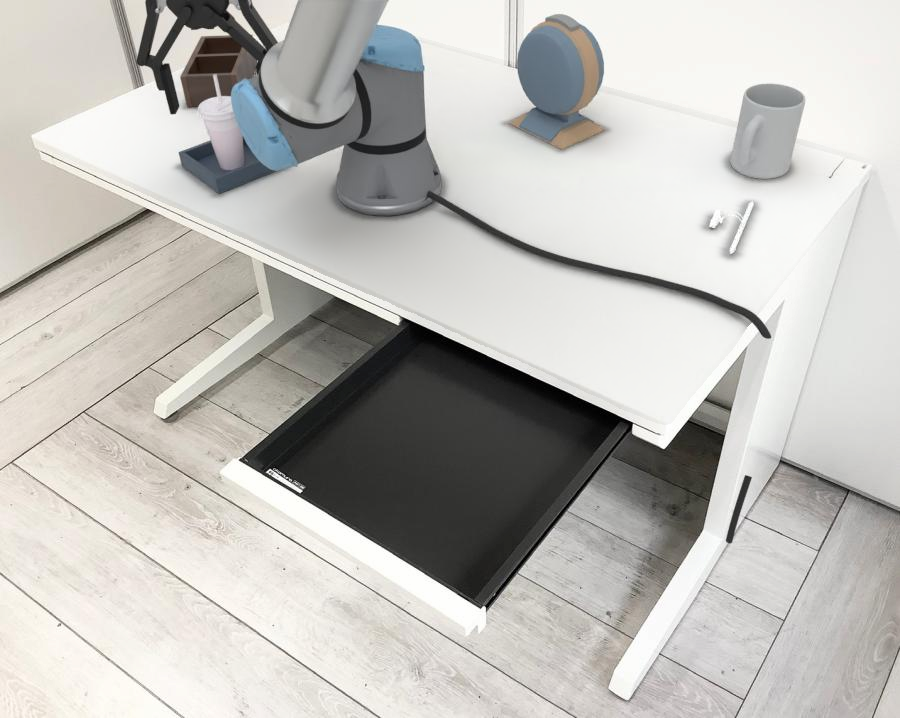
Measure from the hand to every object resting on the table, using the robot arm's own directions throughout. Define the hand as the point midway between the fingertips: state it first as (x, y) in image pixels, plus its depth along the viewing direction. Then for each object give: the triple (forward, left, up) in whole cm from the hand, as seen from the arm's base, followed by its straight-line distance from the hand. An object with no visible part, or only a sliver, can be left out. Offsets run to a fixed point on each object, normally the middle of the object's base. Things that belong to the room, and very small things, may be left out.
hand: (221, 108), depth 131 cm
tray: (0, 0, -10) cm, 10 cm away
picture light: (-61, -41, -10) cm, 74 cm away
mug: (-55, -56, -10) cm, 79 cm away
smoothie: (0, 0, -9) cm, 9 cm away
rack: (+28, -14, -10) cm, 33 cm away
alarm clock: (-25, -45, -10) cm, 53 cm away
